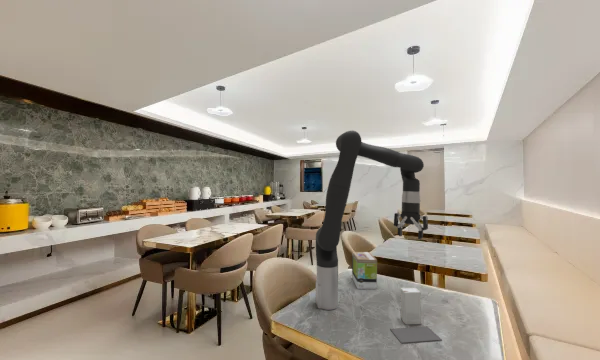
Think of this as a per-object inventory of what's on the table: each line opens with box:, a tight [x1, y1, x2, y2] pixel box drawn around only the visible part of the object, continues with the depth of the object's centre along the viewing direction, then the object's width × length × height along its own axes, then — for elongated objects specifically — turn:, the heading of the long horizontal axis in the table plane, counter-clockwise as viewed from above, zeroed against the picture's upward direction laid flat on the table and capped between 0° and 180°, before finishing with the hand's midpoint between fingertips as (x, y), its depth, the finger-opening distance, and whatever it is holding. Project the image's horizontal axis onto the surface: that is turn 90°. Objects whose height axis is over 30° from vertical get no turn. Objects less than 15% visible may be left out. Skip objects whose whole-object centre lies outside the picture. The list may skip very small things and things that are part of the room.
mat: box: [390, 325, 443, 345], centre depth 88 cm, size 14×8×1 cm, turn 96°
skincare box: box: [400, 287, 422, 325], centre depth 96 cm, size 6×4×12 cm
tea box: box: [351, 251, 378, 290], centre depth 133 cm, size 15×10×15 cm
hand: (409, 237), depth 115 cm, fingers open, 8 cm apart
